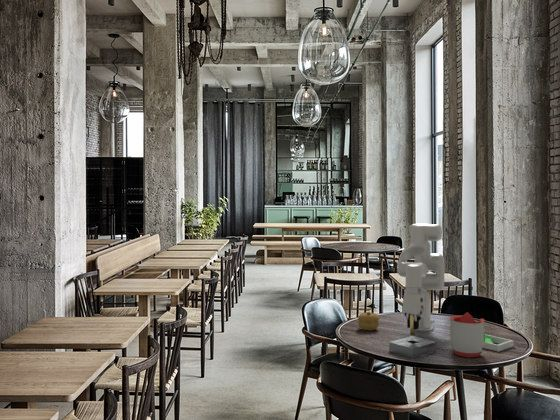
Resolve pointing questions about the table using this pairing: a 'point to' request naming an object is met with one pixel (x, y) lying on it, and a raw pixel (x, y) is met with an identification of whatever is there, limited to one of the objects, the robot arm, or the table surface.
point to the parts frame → (501, 342)
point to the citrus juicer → (466, 335)
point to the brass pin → (412, 325)
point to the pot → (368, 321)
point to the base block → (412, 346)
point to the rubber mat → (409, 336)
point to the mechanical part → (487, 339)
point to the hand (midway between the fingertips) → (413, 327)
